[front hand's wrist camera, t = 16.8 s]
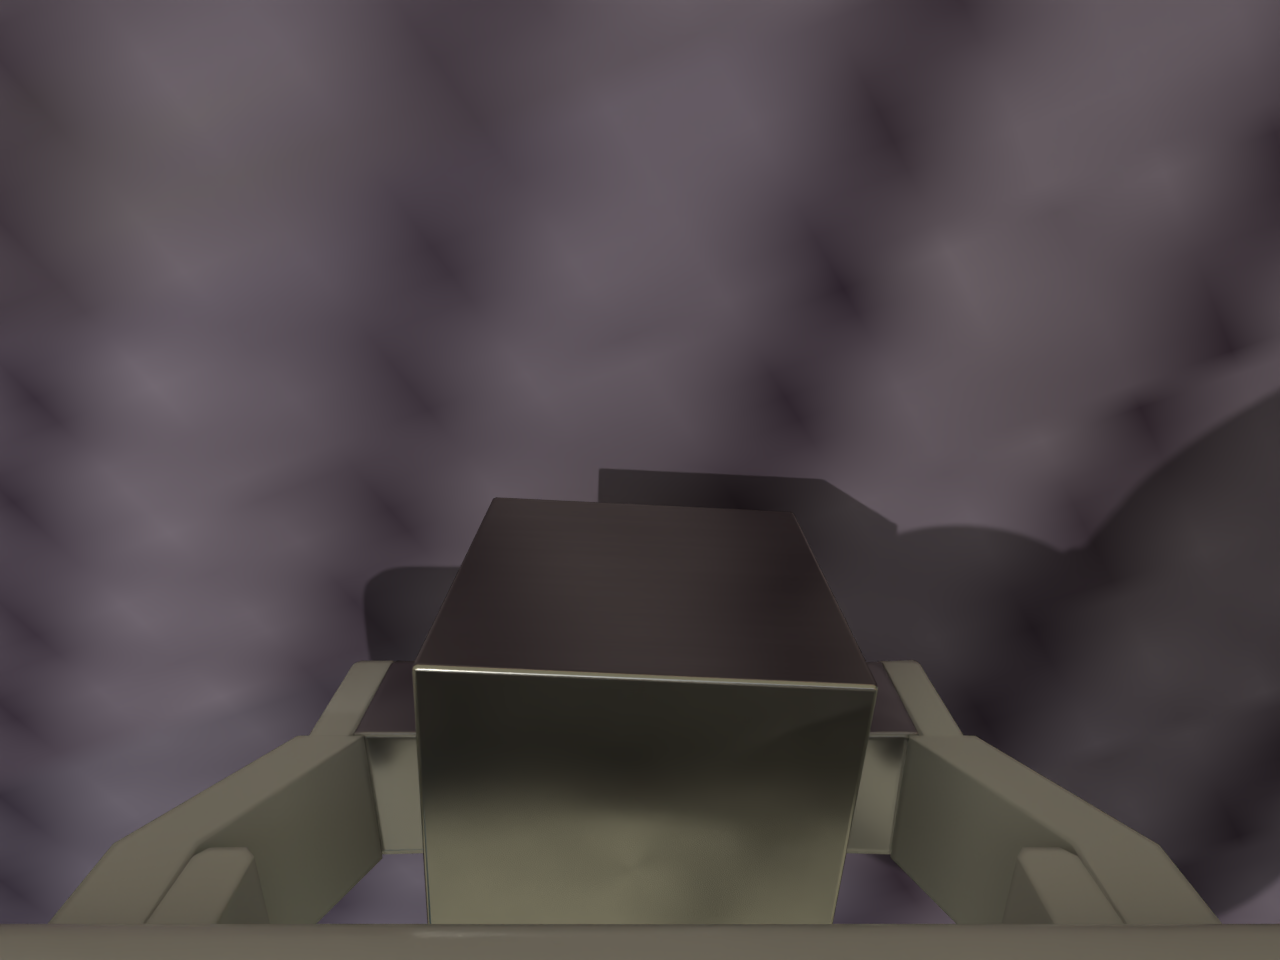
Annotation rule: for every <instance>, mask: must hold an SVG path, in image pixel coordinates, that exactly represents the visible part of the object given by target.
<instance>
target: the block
mask: <svg viewBox="0 0 1280 960" xmlns="http://www.w3.org/2000/svg"><path fill="white" fill-rule="evenodd" d="M412 680H413V696H414V712H415V728H416V745H417V761H418V777H419V793H420V810H421V826H422V842H423V859H424V875H425V891H426V907H427V924H833V919H834V914H835V909H836V904H837V899H838V894H839V889H840V883H841V878H842V873H843V868H844V863H845V858H846V853H847V847H848V842H849V837H850V832H851V827H852V822H853V817H854V811H855V806H856V801H857V796H858V791H859V786H860V781H861V775H862V770H863V765H864V760H865V755H866V750H867V745H868V739H869V734H870V729H871V724H872V719H873V714H874V709H875V703H876V698H877V693H878V685H877V683H876V681H875V679H874V677H873V675H872V673H871V671H870V669H869V667H868V665H867V663H866V660H865V658H864V656H863V654H862V652H861V650H860V648H859V646H858V644H857V642H856V640H855V638H854V636H853V634H852V632H851V630H850V628H849V626H848V624H847V622H846V619H845V617H844V615H843V613H842V611H841V609H840V607H839V605H838V603H837V601H836V599H835V597H834V595H833V593H832V591H831V589H830V587H829V585H828V583H827V581H826V579H825V576H824V574H823V572H822V570H821V568H820V566H819V564H818V562H817V560H816V558H815V556H814V554H813V552H812V550H811V548H810V546H809V544H808V542H807V540H806V538H805V535H804V533H803V531H802V529H801V527H800V525H799V523H798V521H797V519H796V517H795V515H794V513H792V512H784V511H763V510H743V509H722V508H702V507H681V506H661V505H640V504H620V503H600V502H579V501H559V500H538V499H518V498H497V497H496V498H493V500H492V502H491V505H490V507H489V509H488V511H487V513H486V515H485V517H484V519H483V521H482V523H481V525H480V527H479V529H478V531H477V534H476V536H475V538H474V540H473V542H472V544H471V546H470V548H469V550H468V552H467V554H466V556H465V558H464V560H463V562H462V565H461V567H460V569H459V571H458V573H457V575H456V577H455V579H454V581H453V583H452V585H451V587H450V589H449V591H448V594H447V596H446V598H445V600H444V602H443V604H442V606H441V608H440V610H439V612H438V614H437V616H436V618H435V620H434V622H433V625H432V627H431V629H430V631H429V633H428V635H427V637H426V639H425V641H424V643H423V645H422V647H421V649H420V651H419V654H418V656H417V658H416V660H415V662H414V664H413V666H412Z"/></svg>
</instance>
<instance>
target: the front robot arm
mask: <svg viewBox="0 0 1280 960" xmlns="http://www.w3.org/2000/svg"><path fill="white" fill-rule="evenodd" d="M414 662H415V661H396V662H394V661H359V662H357V663H355V664H354V665H353V666H352V667H351V669H350V670H349V672H348V673H347V675H346V677H345V678H344V680H343V681H342V683H341V685H340V686H339V688H338V690H337V691H336V693H335V694H334V696H333V698H332V699H331V701H330V702H329V704H328V706H327V707H326V709H325V710H324V712H323V714H322V715H321V717H320V719H319V720H318V722H317V723H316V725H315V727H314V728H313V730H312V731H311V733H310V735H309V736H296V737H295V738H293V739H291V740H290V741H288V742H286V743H284V744H283V745H281V746H279V747H278V748H276V749H274V750H272V751H271V752H269V753H267V754H266V755H264V756H262V757H261V758H259V759H257V760H255V761H254V762H252V763H250V764H249V765H247V766H245V767H243V768H242V769H240V770H238V771H237V772H235V773H233V774H232V775H230V776H228V777H226V778H225V779H223V780H221V781H220V782H218V783H216V784H214V785H213V786H211V787H209V788H208V789H206V790H204V791H203V792H201V793H199V794H197V795H196V796H194V797H192V798H191V799H189V800H187V801H185V802H184V803H182V804H180V805H179V806H177V807H175V808H174V809H172V810H170V811H168V812H167V813H165V814H163V815H162V816H160V817H158V818H156V819H155V820H153V821H151V822H150V823H148V824H146V825H144V826H143V827H141V828H139V829H138V830H136V831H134V832H133V833H131V834H129V835H127V836H126V837H124V838H122V839H121V840H119V841H117V842H115V843H114V844H113V845H112V846H111V847H110V848H109V849H108V851H107V852H106V853H105V854H104V856H103V857H102V858H101V859H100V860H99V862H98V863H97V864H96V865H95V867H94V868H93V869H92V870H91V871H90V873H89V874H88V875H87V876H86V878H85V879H84V880H83V881H82V882H81V884H80V885H79V886H78V887H77V889H76V890H75V891H74V892H73V893H72V895H71V896H70V897H69V898H68V900H67V901H66V902H65V903H64V904H63V906H62V907H61V908H60V909H59V911H58V912H57V913H56V914H55V915H54V917H53V918H52V919H51V920H50V922H49V923H48V924H0V960H1280V924H1222V923H1221V922H1220V920H1219V919H1218V918H1217V917H1216V915H1215V914H1214V913H1213V912H1212V910H1211V909H1210V908H1209V907H1208V905H1207V904H1206V903H1205V902H1204V900H1203V899H1202V898H1201V897H1200V895H1199V894H1198V893H1197V892H1196V890H1195V889H1194V888H1193V887H1192V885H1191V884H1190V883H1189V882H1188V880H1187V879H1186V878H1185V877H1184V875H1183V874H1182V873H1181V872H1180V870H1179V869H1178V868H1177V867H1176V865H1175V864H1174V863H1173V862H1172V860H1171V859H1170V858H1169V857H1168V855H1167V854H1166V853H1165V852H1164V850H1163V849H1162V848H1161V847H1160V845H1158V844H1157V843H1155V842H1153V841H1151V840H1150V839H1148V838H1146V837H1145V836H1143V835H1141V834H1140V833H1138V832H1136V831H1135V830H1133V829H1131V828H1130V827H1128V826H1126V825H1125V824H1123V823H1121V822H1119V821H1118V820H1116V819H1114V818H1113V817H1111V816H1109V815H1108V814H1106V813H1104V812H1103V811H1101V810H1099V809H1098V808H1096V807H1094V806H1093V805H1091V804H1089V803H1087V802H1086V801H1084V800H1082V799H1081V798H1079V797H1077V796H1076V795H1074V794H1072V793H1071V792H1069V791H1067V790H1066V789H1064V788H1062V787H1060V786H1059V785H1057V784H1055V783H1054V782H1052V781H1050V780H1049V779H1047V778H1045V777H1044V776H1042V775H1040V774H1039V773H1037V772H1035V771H1034V770H1032V769H1030V768H1028V767H1027V766H1025V765H1023V764H1022V763H1020V762H1018V761H1017V760H1015V759H1013V758H1012V757H1010V756H1008V755H1007V754H1005V753H1003V752H1001V751H1000V750H998V749H996V748H995V747H993V746H991V745H990V744H988V743H986V742H985V741H983V740H981V739H980V738H978V737H976V736H964V735H963V734H962V732H961V730H960V729H959V727H958V726H957V724H956V722H955V721H954V719H953V717H952V716H951V714H950V712H949V711H948V709H947V708H946V706H945V704H944V703H943V701H942V699H941V698H940V696H939V695H938V693H937V691H936V690H935V688H934V686H933V685H932V683H931V681H930V680H929V678H928V677H927V675H926V673H925V672H924V670H923V668H922V667H921V665H920V664H919V663H918V662H916V661H914V660H902V661H878V662H866V663H867V665H868V667H869V669H870V671H871V673H872V675H873V677H874V679H875V681H876V683H877V685H878V693H877V698H876V703H875V709H874V714H873V719H872V724H871V729H870V734H869V739H868V745H867V750H866V755H865V760H864V765H863V770H862V775H861V781H860V786H859V791H858V796H857V801H856V806H855V811H854V817H853V822H852V827H851V832H850V837H849V842H848V847H847V853H864V854H891V858H892V859H893V860H894V861H895V862H896V864H897V865H898V866H899V867H900V868H901V869H902V870H903V871H904V872H905V873H906V874H907V875H908V876H909V877H910V878H911V879H912V880H913V881H914V882H915V883H916V884H917V885H918V886H919V887H920V888H921V889H922V890H923V891H924V892H925V893H926V894H927V895H928V896H929V897H930V898H931V899H932V900H933V901H934V902H935V903H936V904H937V905H938V906H939V907H940V908H941V909H942V910H943V911H944V912H945V913H946V914H947V915H948V916H949V917H950V918H951V919H952V920H953V921H954V922H955V923H956V924H317V923H318V922H319V921H320V920H321V919H322V918H323V917H324V916H325V915H326V914H327V913H328V912H329V911H330V910H331V909H332V908H333V907H334V906H335V905H336V904H337V903H338V902H339V901H340V900H341V899H342V898H343V897H344V896H345V895H346V894H347V893H348V892H349V891H350V890H351V889H352V888H353V887H354V886H355V885H356V884H357V883H358V882H359V881H360V880H361V879H362V878H363V877H364V876H365V875H366V874H367V873H368V872H369V871H370V870H371V869H372V868H373V867H374V866H375V865H376V864H377V863H378V862H379V861H380V860H381V859H382V854H408V853H423V842H422V826H421V810H420V793H419V777H418V761H417V745H416V728H415V712H414V696H413V680H412V666H413V664H414Z"/></svg>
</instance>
